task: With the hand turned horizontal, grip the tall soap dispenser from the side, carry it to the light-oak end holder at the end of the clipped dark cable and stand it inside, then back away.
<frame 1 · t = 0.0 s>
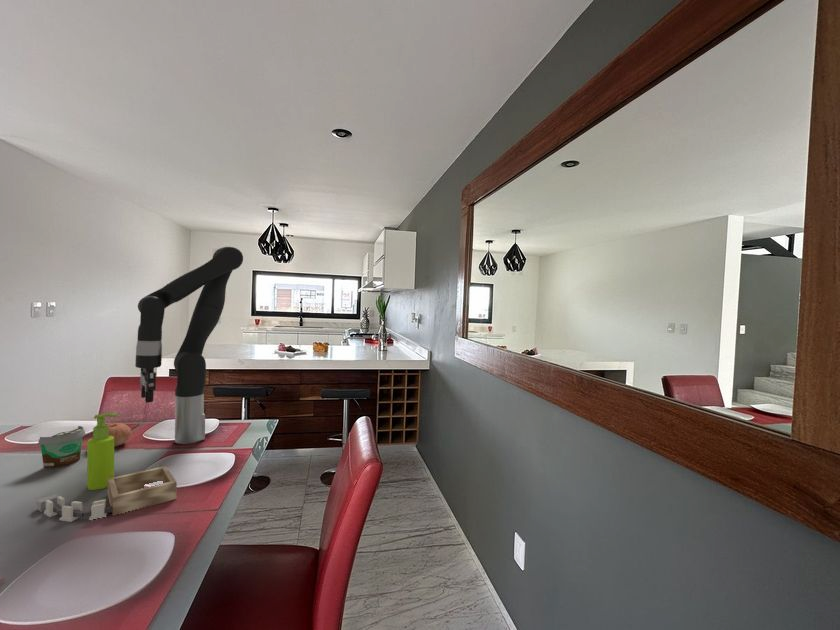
hand: (146, 399, 139), 17 cm above the table, tool pointing down, fingers open, 8 cm apart
food container: (67, 463, 126), on the table
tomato: (112, 446, 142), on the table
cable route: (189, 440, 149), on the table
end holder: (141, 497, 106), on the table
soap dispenser: (103, 485, 112), on the table
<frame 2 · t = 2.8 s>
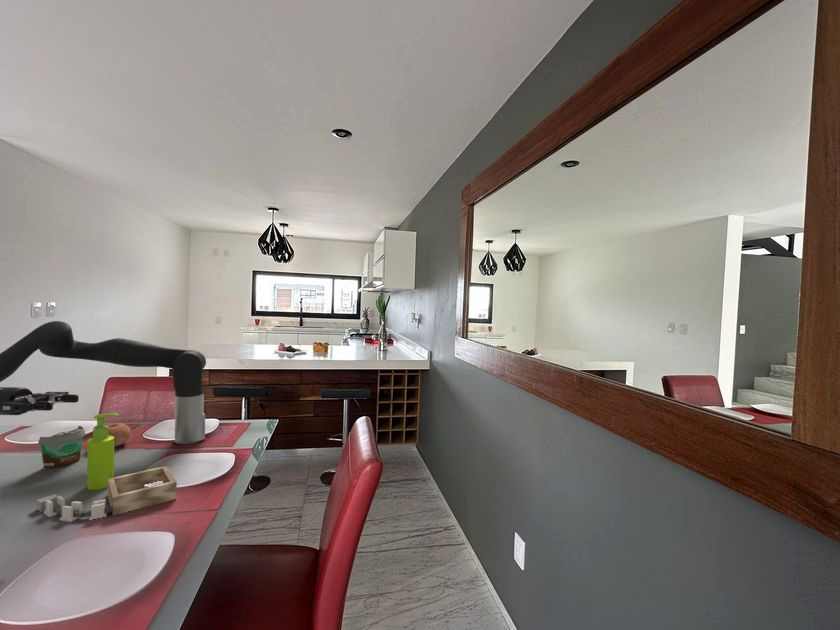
hand: (65, 402, 111), 23 cm above the table, tool horizontal, fingers open, 8 cm apart
nothing on the table moved.
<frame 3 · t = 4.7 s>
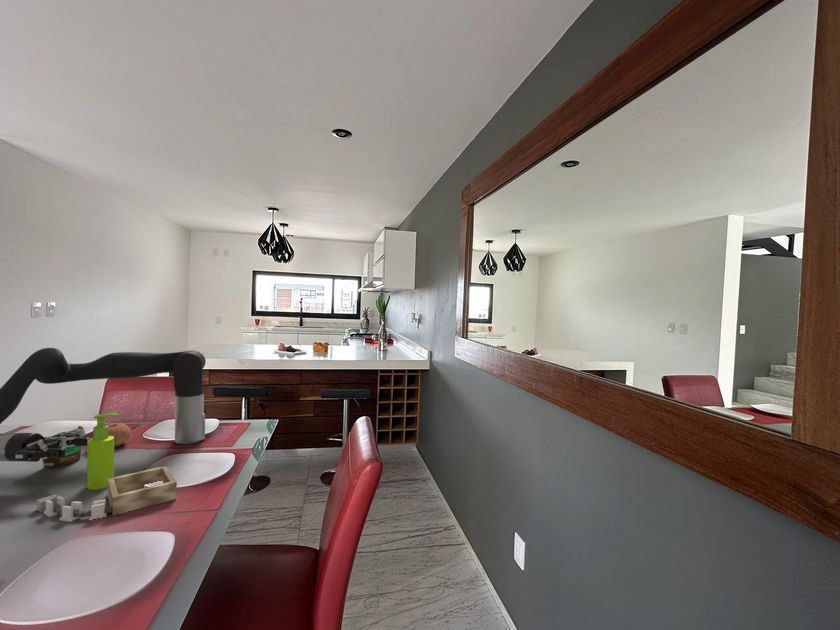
hand: (76, 447, 111), 11 cm above the table, tool horizontal, fingers open, 8 cm apart
nothing on the table moved.
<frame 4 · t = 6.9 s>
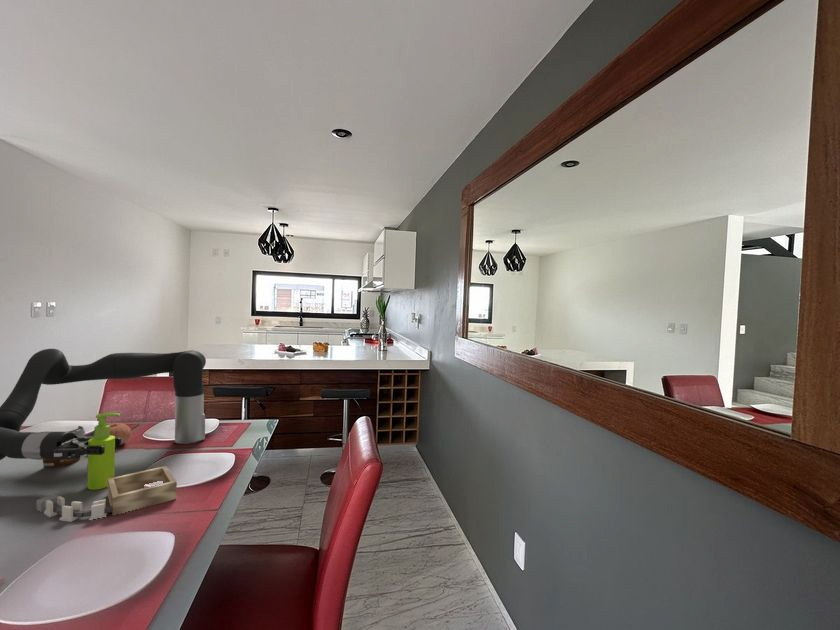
hand: (111, 446, 112), 11 cm above the table, tool horizontal, fingers closed on soap dispenser, 6 cm apart
soap dispenser: (103, 485, 112), on the table, touching gripper
everything else where it was.
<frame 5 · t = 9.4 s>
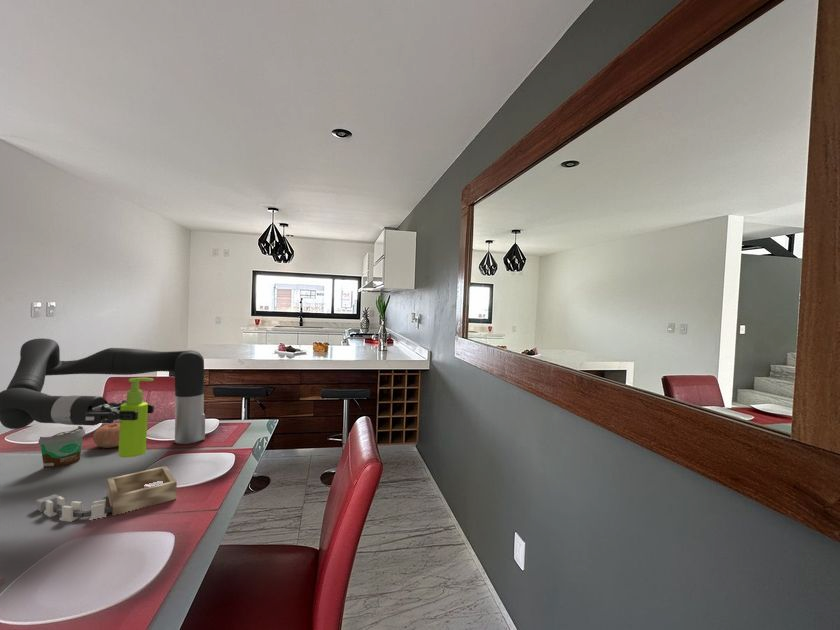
hand: (144, 412, 106), 23 cm above the table, tool horizontal, fingers closed on soap dispenser, 6 cm apart
soap dispenser: (134, 454, 106), point 11 cm above the table, touching gripper
everything else where it was.
when the fingers open (12 cm above the table, at t = 12.1 s): soap dispenser drops 1 cm, resting in end holder.
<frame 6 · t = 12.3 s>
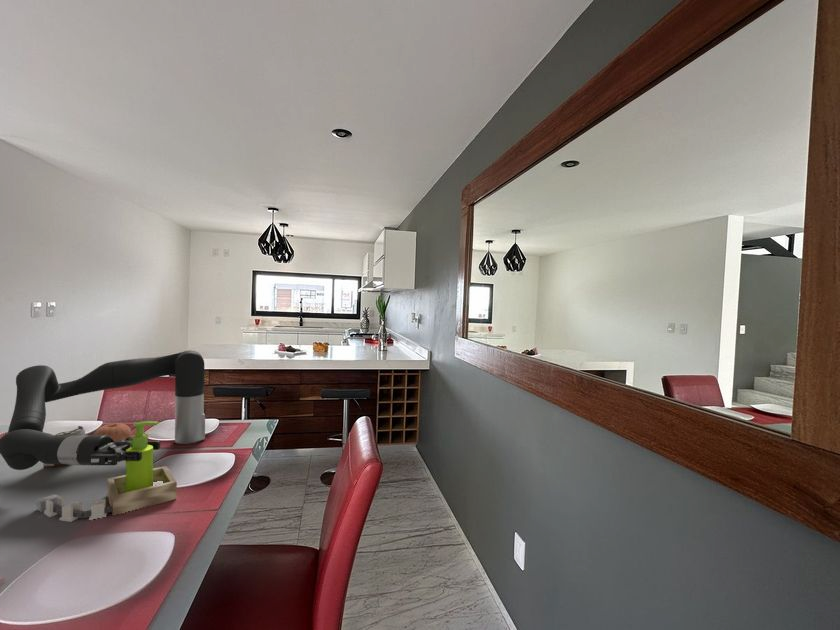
hand: (150, 450, 106), 12 cm above the table, tool horizontal, fingers open, 7 cm apart
soap dispenser: (141, 497, 106), resting in end holder
everything else where it was.
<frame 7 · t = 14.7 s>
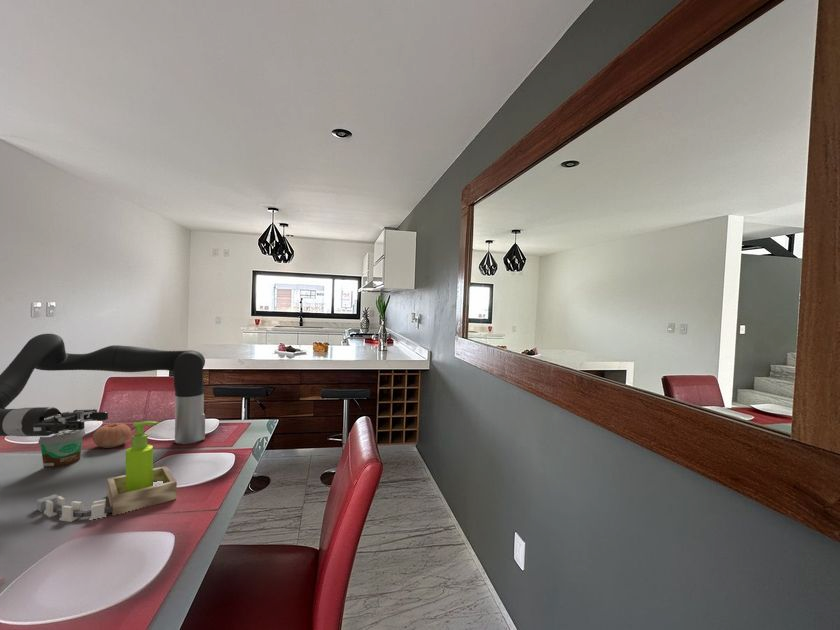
hand: (95, 420, 108), 19 cm above the table, tool horizontal, fingers open, 8 cm apart
nothing on the table moved.
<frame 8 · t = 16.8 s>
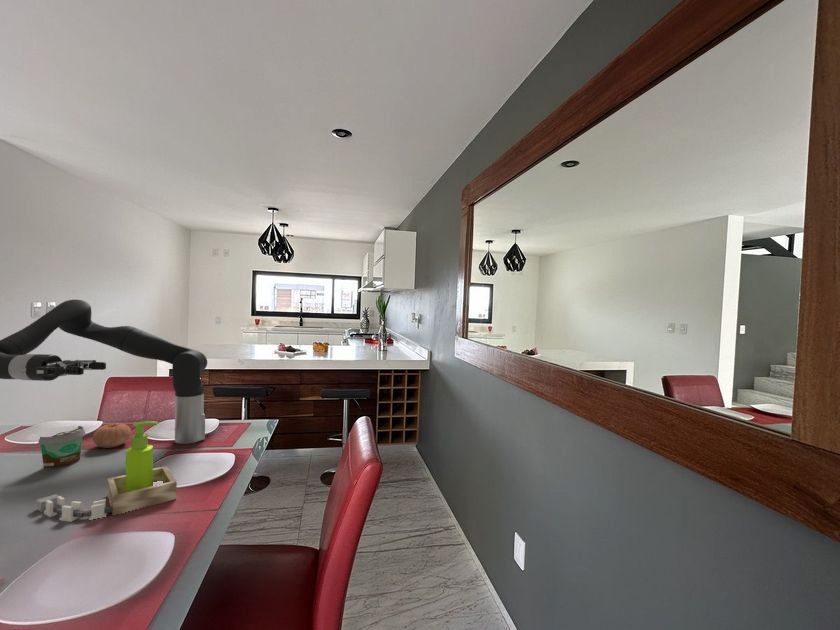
hand: (94, 368, 116), 32 cm above the table, tool horizontal, fingers open, 8 cm apart
nothing on the table moved.
at the end: soap dispenser inside the target area on the end holder (0.2 cm from its centre), point 0.0 cm above the end holder's base; soap dispenser tilted 0°; the gripper is holding nothing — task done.
